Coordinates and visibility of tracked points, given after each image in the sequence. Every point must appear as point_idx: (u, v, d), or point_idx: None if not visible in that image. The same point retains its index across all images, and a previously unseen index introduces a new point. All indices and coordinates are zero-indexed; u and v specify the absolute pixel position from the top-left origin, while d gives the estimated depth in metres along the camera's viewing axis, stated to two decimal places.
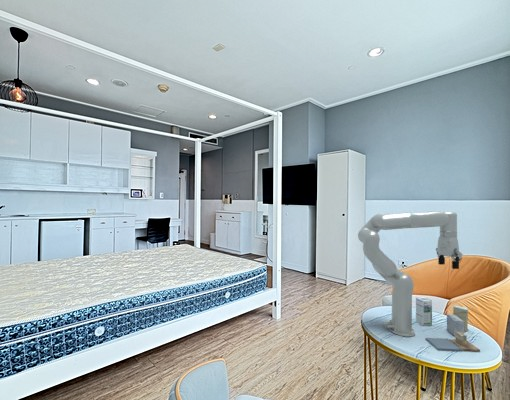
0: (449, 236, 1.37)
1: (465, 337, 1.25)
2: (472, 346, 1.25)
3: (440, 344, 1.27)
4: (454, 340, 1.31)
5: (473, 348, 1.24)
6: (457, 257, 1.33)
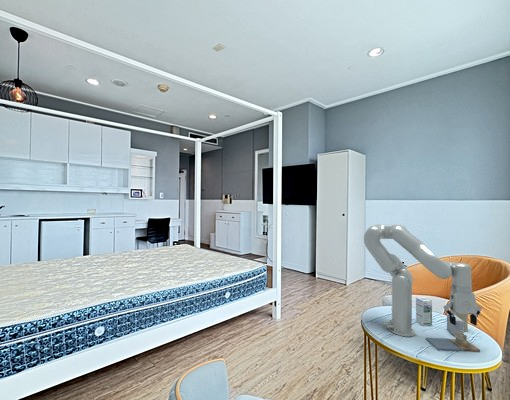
0: (471, 291, 1.26)
1: (465, 337, 1.25)
2: (472, 346, 1.25)
3: (440, 344, 1.27)
4: (454, 340, 1.31)
5: (473, 348, 1.24)
6: (479, 311, 1.26)
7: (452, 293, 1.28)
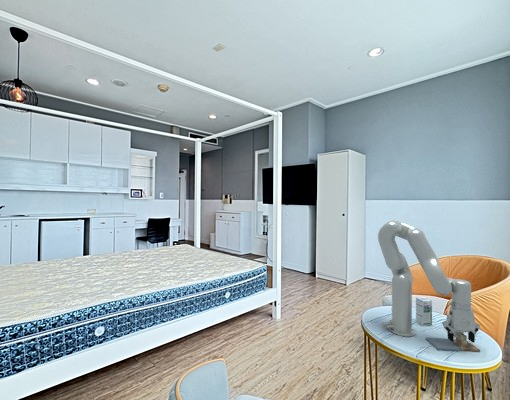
0: None
1: (465, 337, 1.25)
2: (472, 346, 1.25)
3: (440, 344, 1.27)
4: (454, 340, 1.31)
5: (473, 348, 1.24)
6: (477, 329, 1.26)
7: (451, 310, 1.28)
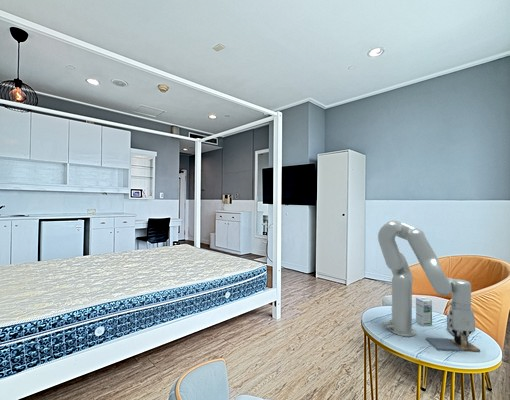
0: None
1: (465, 337, 1.25)
2: (472, 346, 1.25)
3: (440, 344, 1.27)
4: (454, 340, 1.31)
5: (473, 348, 1.24)
6: (470, 331, 1.26)
7: (451, 310, 1.28)
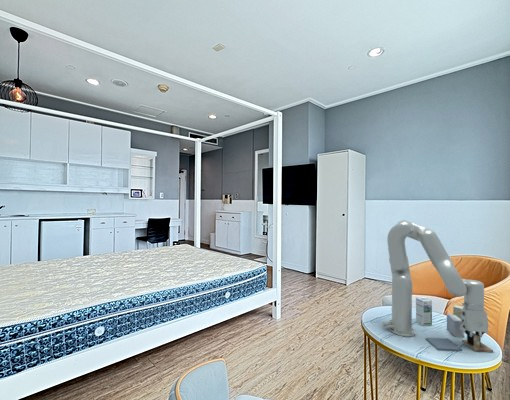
0: (483, 309, 1.25)
1: (477, 338, 1.25)
2: (485, 347, 1.25)
3: (440, 344, 1.27)
4: (466, 341, 1.30)
5: (486, 349, 1.23)
6: (483, 332, 1.26)
7: (464, 310, 1.28)
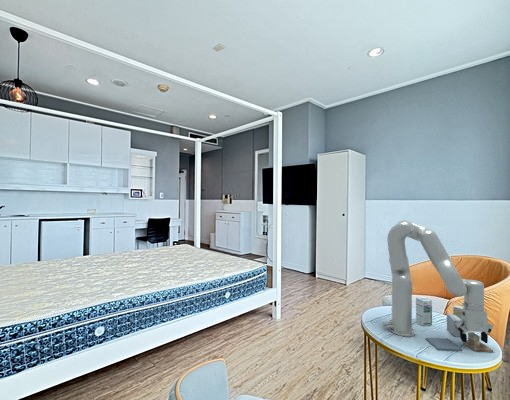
0: (483, 309, 1.25)
1: (478, 338, 1.25)
2: (485, 347, 1.25)
3: (440, 344, 1.27)
4: None
5: (486, 349, 1.23)
6: (490, 329, 1.26)
7: (464, 310, 1.28)
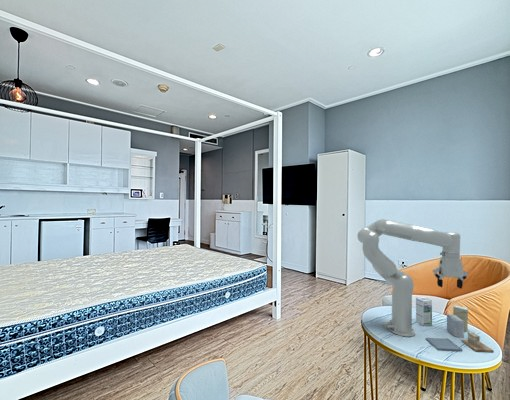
0: (459, 257, 1.38)
1: (478, 338, 1.25)
2: (485, 347, 1.25)
3: (440, 344, 1.27)
4: (466, 341, 1.30)
5: (486, 349, 1.23)
6: (465, 276, 1.39)
7: (441, 259, 1.41)
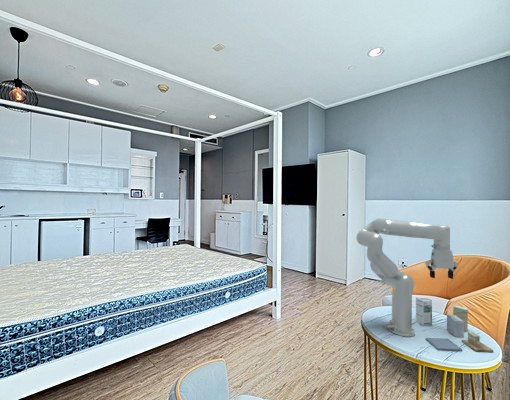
0: (449, 249, 1.44)
1: (478, 338, 1.25)
2: (485, 347, 1.25)
3: (440, 344, 1.27)
4: (466, 341, 1.30)
5: (486, 349, 1.23)
6: (455, 267, 1.45)
7: (433, 251, 1.46)
